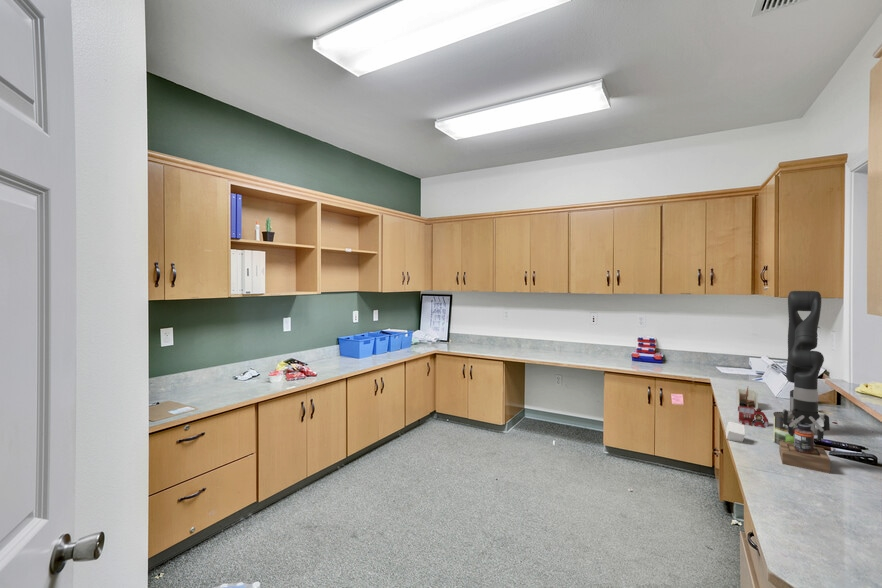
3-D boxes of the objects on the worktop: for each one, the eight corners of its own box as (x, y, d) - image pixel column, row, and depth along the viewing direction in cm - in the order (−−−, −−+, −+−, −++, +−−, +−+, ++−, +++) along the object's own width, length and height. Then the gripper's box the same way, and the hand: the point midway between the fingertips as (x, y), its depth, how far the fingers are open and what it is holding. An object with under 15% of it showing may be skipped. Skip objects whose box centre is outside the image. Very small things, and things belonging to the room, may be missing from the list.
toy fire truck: (769, 432, 197) (769, 411, 197) (738, 427, 204) (738, 407, 204) (767, 428, 203) (767, 408, 203) (737, 423, 210) (737, 404, 210)
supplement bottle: (807, 447, 164) (808, 421, 163) (817, 454, 158) (818, 428, 157) (790, 446, 165) (791, 421, 164) (799, 453, 160) (800, 427, 159)
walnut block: (779, 453, 171) (779, 440, 171) (823, 462, 163) (823, 448, 163) (782, 465, 160) (782, 451, 160) (830, 474, 152) (830, 460, 152)
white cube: (741, 433, 186) (744, 425, 183) (741, 443, 182) (745, 435, 179) (725, 429, 189) (728, 421, 186) (726, 439, 185) (728, 431, 182)
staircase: (738, 413, 227) (738, 385, 227) (736, 409, 237) (736, 381, 237) (757, 416, 223) (757, 387, 223) (754, 411, 232) (754, 383, 232)
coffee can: (807, 451, 173) (808, 419, 173) (779, 448, 176) (779, 417, 176) (796, 443, 183) (796, 412, 182) (768, 440, 186) (769, 410, 186)
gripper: (826, 398, 161) (825, 438, 161) (781, 394, 168) (780, 431, 168) (832, 403, 154) (831, 444, 155) (784, 398, 162) (784, 437, 162)
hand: (805, 437), depth 161 cm, fingers open, 8 cm apart
